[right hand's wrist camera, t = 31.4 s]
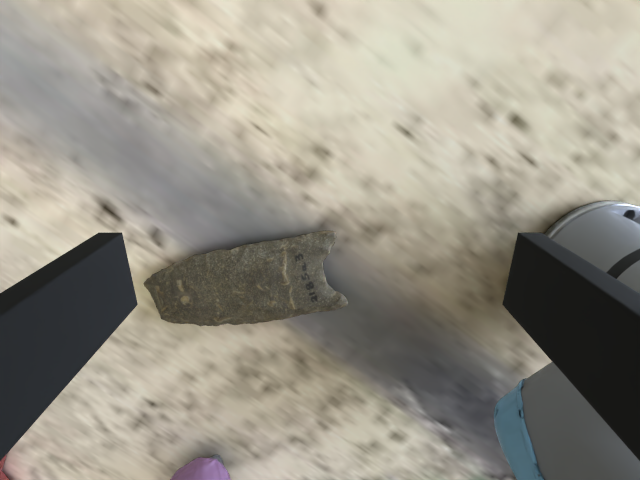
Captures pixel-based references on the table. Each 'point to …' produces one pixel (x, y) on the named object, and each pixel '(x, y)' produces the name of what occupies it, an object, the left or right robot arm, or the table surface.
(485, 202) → the table surface
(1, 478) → the plaque
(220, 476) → the toy character
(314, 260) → the stone tool
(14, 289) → the right robot arm
